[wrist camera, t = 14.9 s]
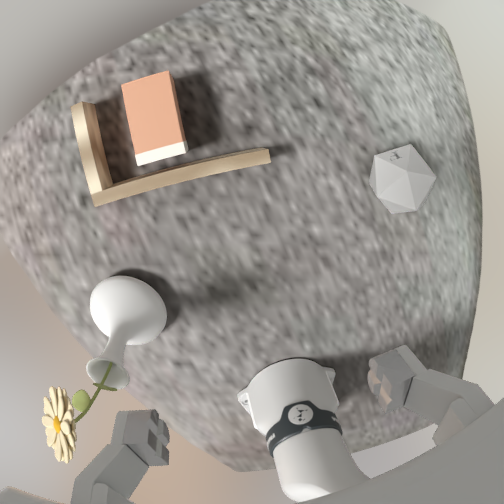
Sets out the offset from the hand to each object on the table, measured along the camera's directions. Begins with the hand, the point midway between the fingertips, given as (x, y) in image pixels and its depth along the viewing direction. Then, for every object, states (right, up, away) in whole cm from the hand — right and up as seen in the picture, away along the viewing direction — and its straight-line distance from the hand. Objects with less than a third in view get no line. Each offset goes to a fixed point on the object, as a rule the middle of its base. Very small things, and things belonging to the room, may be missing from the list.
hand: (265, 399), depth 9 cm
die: (+18, +16, +27) cm, 37 cm away
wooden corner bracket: (-10, +19, +21) cm, 30 cm away
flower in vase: (-19, -3, +29) cm, 35 cm away
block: (-11, +21, +20) cm, 31 cm away
